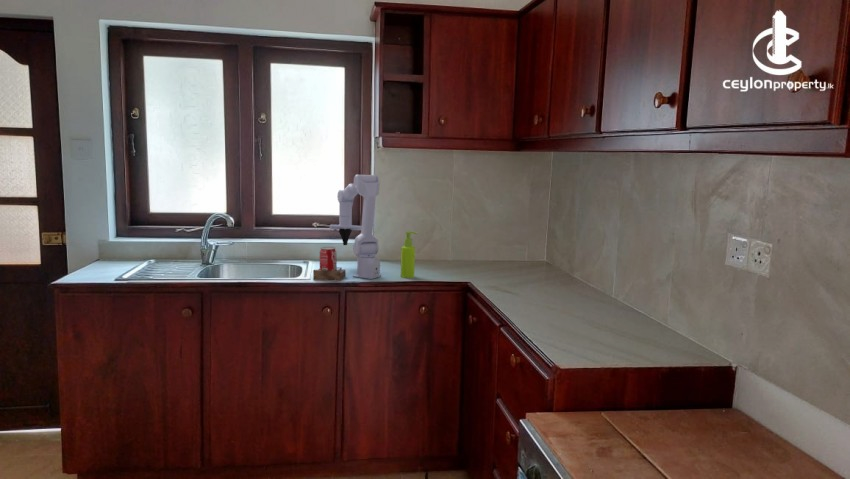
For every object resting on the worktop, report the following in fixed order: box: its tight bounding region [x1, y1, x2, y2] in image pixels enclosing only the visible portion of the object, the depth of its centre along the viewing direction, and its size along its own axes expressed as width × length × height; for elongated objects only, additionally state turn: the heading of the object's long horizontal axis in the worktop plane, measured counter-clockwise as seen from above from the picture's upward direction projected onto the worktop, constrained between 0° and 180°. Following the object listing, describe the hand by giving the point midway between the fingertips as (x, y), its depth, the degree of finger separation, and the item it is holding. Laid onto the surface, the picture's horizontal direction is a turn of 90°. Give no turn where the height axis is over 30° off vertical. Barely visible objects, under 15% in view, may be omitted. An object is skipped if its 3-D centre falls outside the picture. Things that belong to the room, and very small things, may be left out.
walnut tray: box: [312, 268, 346, 282], centre depth 250 cm, size 11×10×4 cm
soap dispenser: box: [400, 230, 419, 279], centre depth 257 cm, size 6×7×20 cm
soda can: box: [319, 246, 338, 271], centre depth 250 cm, size 7×7×13 cm
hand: (345, 244), depth 276 cm, fingers closed
